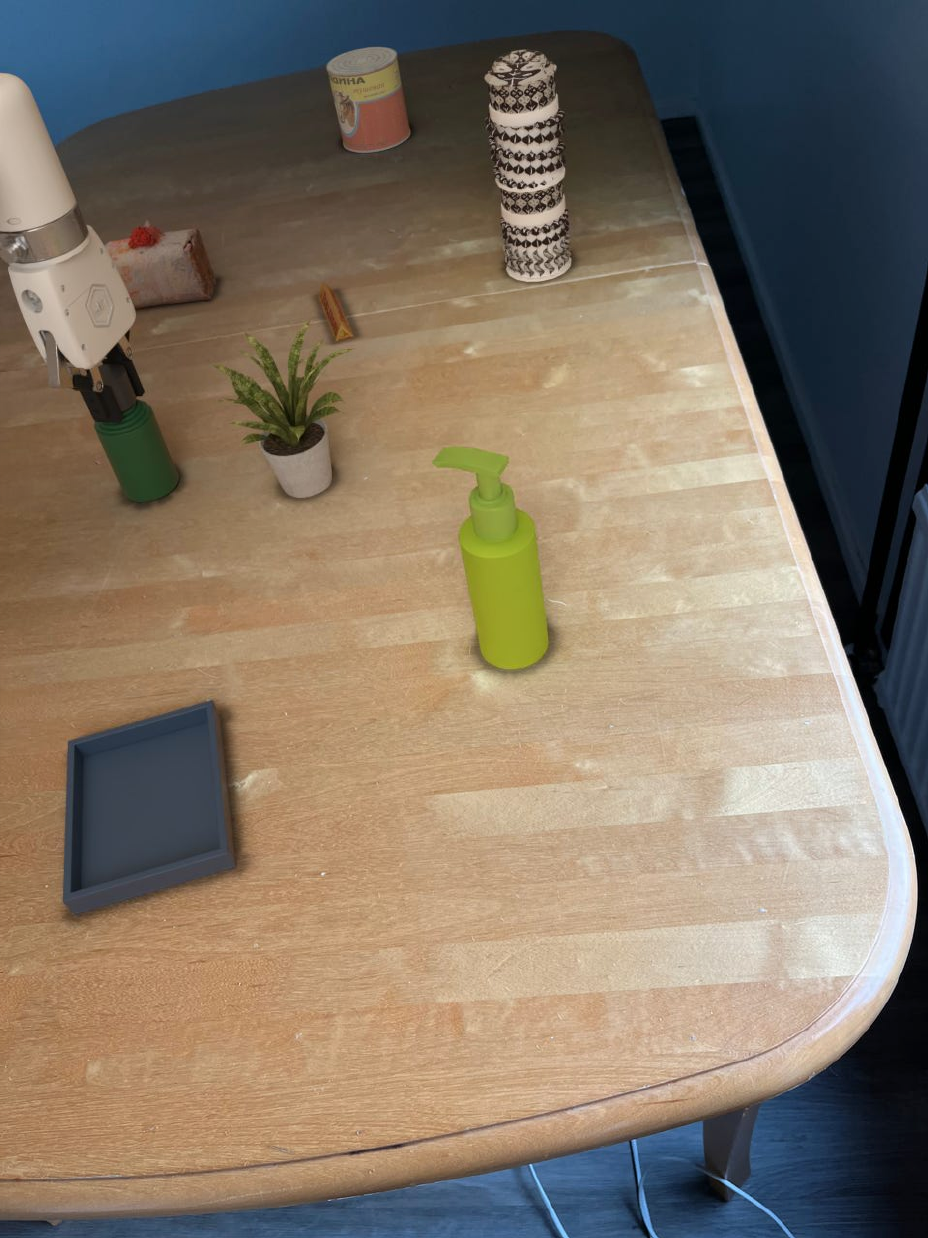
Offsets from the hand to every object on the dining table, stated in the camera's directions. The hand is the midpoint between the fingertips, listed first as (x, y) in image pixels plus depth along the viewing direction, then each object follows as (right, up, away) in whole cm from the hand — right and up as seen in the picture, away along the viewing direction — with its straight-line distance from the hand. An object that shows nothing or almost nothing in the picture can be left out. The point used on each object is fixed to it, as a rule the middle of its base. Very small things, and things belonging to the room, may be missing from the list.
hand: (119, 405), depth 102 cm
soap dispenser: (+38, -24, -15) cm, 48 cm away
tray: (+10, -36, -22) cm, 44 cm away
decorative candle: (+44, +24, +29) cm, 58 cm away
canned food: (+20, +58, +66) cm, 90 cm away
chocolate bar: (+18, +17, +27) cm, 37 cm away
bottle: (+1, -7, +7) cm, 10 cm away
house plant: (+19, -7, +5) cm, 21 cm away
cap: (0, 0, 0) cm, 0 cm away
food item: (-6, +23, +38) cm, 45 cm away
